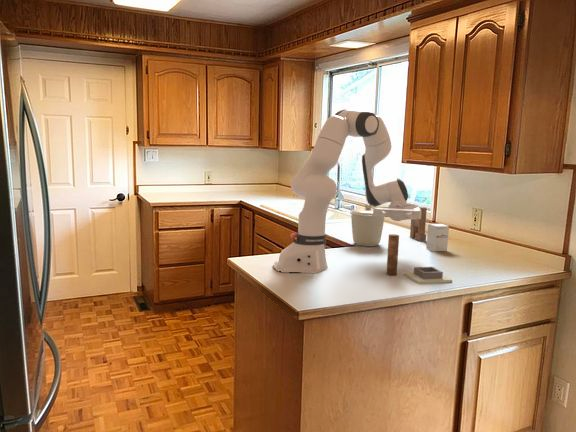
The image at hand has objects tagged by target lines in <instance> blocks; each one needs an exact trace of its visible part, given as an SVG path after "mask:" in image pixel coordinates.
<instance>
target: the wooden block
mask: <svg viewBox="0 0 576 432" xmlns="http://www.w3.org/2000/svg"><path fill="white" fill-rule="evenodd" d="M419 208H420V209H421V219H414V220H410V229H409V230H410V231H409V237H410V238H411V239H414V240H417V241H418V242H427V234H426V224H427V209H428V208H427V207H426V206H421V207H419Z"/></svg>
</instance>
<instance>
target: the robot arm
mask: <svg viewBox="0 0 576 432" xmlns="http://www.w3.org/2000/svg"><path fill="white" fill-rule="evenodd" d="M349 136H350V137H355V138H358V137H359V138H362V140H363V143H364V146H365V151H364V154H362V156H361V164H362V165H361V166H362V174H363V180H364V181H363V182H364V187H365V192H364V194H365V200H366V202H367V204H370V205H372V207H373V208H372V209H373V216H375V217H384V218H389V219H391V220H392V221H395V222H401V221H407V220H408V221H409V220H410V221H411V220H414V219H421V209H420V207H419V205H418V204H415V203H409V202H407V201H408V199H409V192H408V189H407V187H406V184H405V182H404V181H403V180H401V179H400V178H398V177H397V178H392V179H388V180H387V181H383V182H380V183H374V177H373V169H374V168H375V167H376V166H377V164H380V163H381V162H382V161H383V160H384V159H385V158H387V157H388V155H389V154H390V153H391V150H392V142H391V136H390V134H389V131H388V128H387V127H386V125H385V123H384V121H383V118H381V116H380V115H376V114H375V113H374V112H373V111H370V110H361V109H356V108H355V109H342V110H338V111H337V112H336V113H335V114H334V115H331V116H329V117H328V118H327V119H326V121H325V122H324V124H323V125H322V128H321V130H320V132H319V134H318V136H317V139H316V142H315V143H314V146H313V148H312V150H311V153H310V155H309V157H308V159H307V160H306V162H305V163H304V165H303V166H302V168H300V171H299V172H297V173H296V174H295V175H294V176H293V177H292V179H291V182H290V188H291V191H292V192H293V193H294V194H295V195H296V196H298V198H301V199H303V200H304V204H303V208H302V210H301V211H300V212H299V214H298V219H297V221H298V224H297V226H298V229H297V233H294V232H293V233H290V238H291V239H292V243H290V244H289V245H287V247H285V248H284V249H282V250H281V252H280V253H279V257H278V261H274V263H273V266H274V267H273V269H274V268H275V269H276V270H275V269H274V270H275V271H277V270H278V272H279V271H281V272H280V273H289V272H302V273H301V274H306V273H307V274H319V273H320V272H323V271H326V270H327V269H328V263H327V258H326V246H327V234H326V219H327V218H326V217H327V212H328V209H329V207H330V203H331V201H332V200H334V198H335V197H336V194H337V192H338V187H337V183H336V182H335V180H334V179H332V178H331V177H329V176H328V173H329V172H331V170H332V169H333V168H335V167H336V166H337V163H338V161H339V159H340V155H341V153H342V151H343V149H344V146H345V142H346V141H347V138H348V137H349ZM385 160H386V159H385ZM387 203H389V205H388V206H381V205H383V204H387Z"/></svg>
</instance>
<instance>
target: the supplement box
mask: <svg viewBox="0 0 576 432" xmlns="http://www.w3.org/2000/svg"><path fill="white" fill-rule="evenodd" d="M449 229H450V226H449V225H447V224H443V223H428V224H427V234H426V250H429V251H432V252H447V251H448V242H449Z"/></svg>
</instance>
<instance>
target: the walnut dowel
mask: <svg viewBox="0 0 576 432" xmlns="http://www.w3.org/2000/svg"><path fill="white" fill-rule="evenodd" d="M399 244H400V235H399V234H395V233H390V234H388V241H387V258H386V260H387V261H386V262H387V263H386V275H387V276H390V277H392V276H394V277H396V276H397V275H398V262H399V261H398V259H399V258H398V257H399V246H400V245H399Z"/></svg>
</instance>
